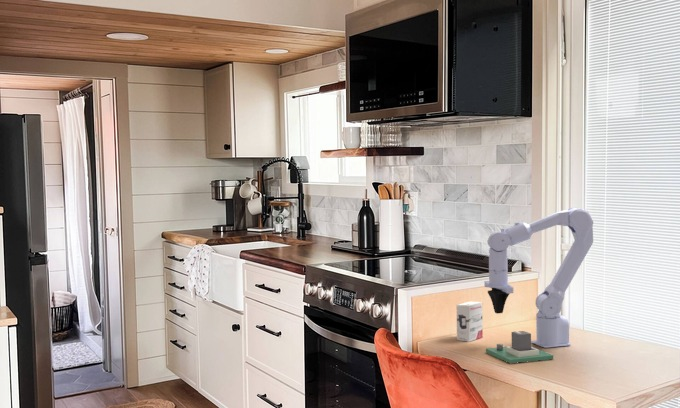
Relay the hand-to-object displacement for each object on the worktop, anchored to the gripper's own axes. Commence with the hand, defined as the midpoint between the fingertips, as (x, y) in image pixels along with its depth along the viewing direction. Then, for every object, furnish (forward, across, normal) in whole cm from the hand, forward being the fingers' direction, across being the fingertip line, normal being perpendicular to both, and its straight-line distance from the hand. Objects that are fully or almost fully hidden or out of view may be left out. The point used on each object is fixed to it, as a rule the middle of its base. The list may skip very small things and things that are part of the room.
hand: (498, 312), depth 217 cm
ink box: (+10, -10, -5) cm, 15 cm away
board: (+10, +15, -2) cm, 18 cm away
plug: (+9, +17, -2) cm, 19 cm away
